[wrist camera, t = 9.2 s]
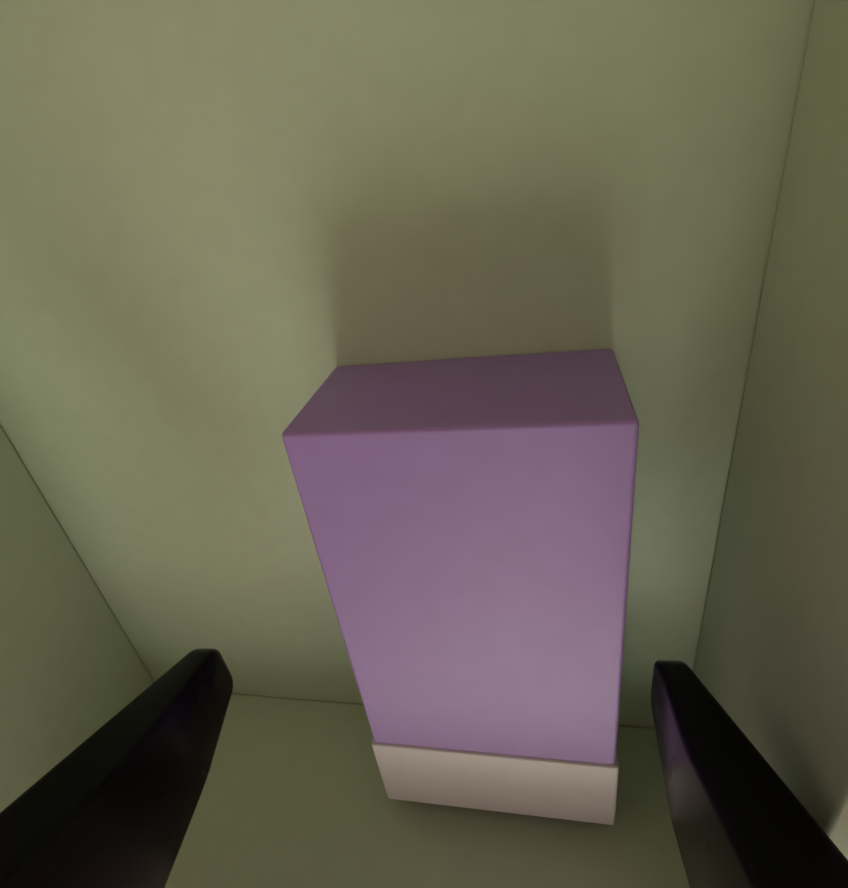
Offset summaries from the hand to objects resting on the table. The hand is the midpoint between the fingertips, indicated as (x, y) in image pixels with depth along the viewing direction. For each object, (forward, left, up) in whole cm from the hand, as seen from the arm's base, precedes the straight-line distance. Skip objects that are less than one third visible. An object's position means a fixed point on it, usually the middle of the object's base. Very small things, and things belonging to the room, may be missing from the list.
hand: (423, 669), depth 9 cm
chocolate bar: (-1, 0, -3) cm, 3 cm away
